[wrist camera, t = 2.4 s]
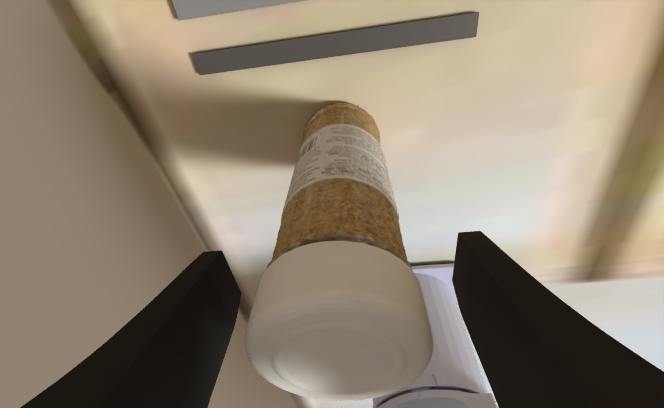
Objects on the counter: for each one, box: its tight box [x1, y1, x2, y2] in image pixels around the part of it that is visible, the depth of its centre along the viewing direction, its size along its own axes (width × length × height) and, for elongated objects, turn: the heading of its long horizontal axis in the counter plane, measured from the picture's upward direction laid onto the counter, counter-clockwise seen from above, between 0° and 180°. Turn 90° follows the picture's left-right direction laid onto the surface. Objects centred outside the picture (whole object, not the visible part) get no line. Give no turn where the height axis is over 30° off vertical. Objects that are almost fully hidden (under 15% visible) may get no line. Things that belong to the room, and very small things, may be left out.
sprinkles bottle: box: [245, 103, 433, 401], centre depth 13 cm, size 5×5×14 cm
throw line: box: [192, 12, 479, 75], centre depth 15 cm, size 1×14×1 cm, turn 98°
